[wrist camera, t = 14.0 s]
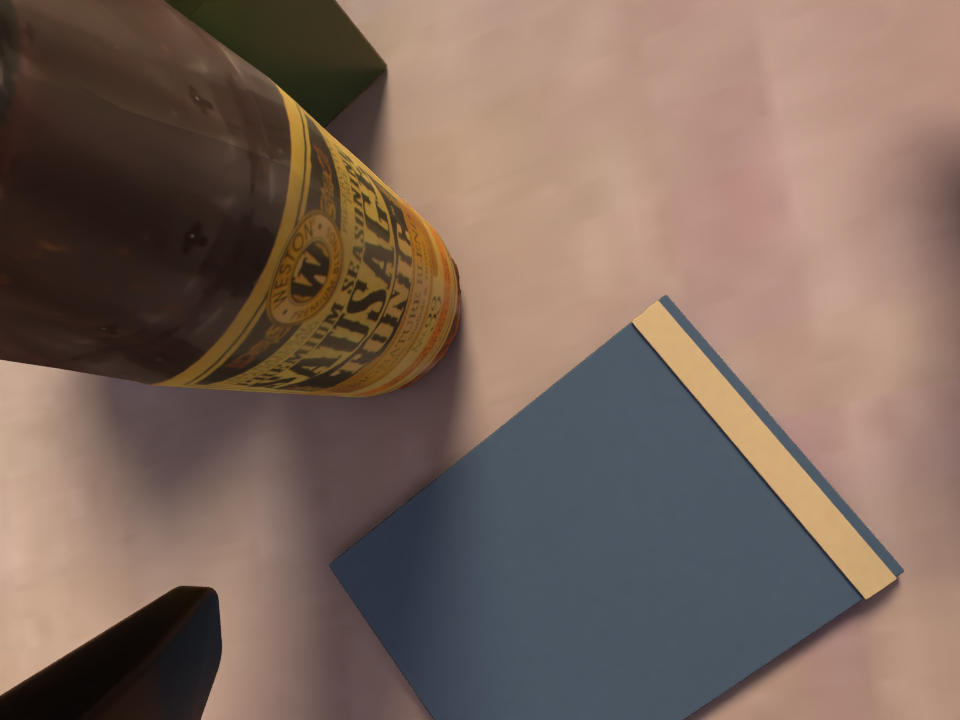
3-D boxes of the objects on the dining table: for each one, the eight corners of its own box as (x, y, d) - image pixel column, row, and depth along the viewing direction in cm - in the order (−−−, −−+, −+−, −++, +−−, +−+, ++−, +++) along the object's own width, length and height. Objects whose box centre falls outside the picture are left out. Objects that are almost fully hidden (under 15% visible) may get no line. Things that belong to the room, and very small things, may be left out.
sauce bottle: (429, 425, 22) (-1058, 698, 3) (273, 353, 24) (-1415, 198, 4) (505, 240, 22) (-587, -929, 2) (342, 178, 23) (-1154, -865, 4)
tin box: (396, 67, 23) (244, -131, 14) (186, 266, 24) (-67, 199, 16) (292, -58, 24) (91, -313, 15) (97, 140, 26) (-184, 13, 17)
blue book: (900, 567, 19) (906, 572, 18) (514, 827, 21) (511, 838, 20) (665, 295, 20) (666, 293, 20) (333, 562, 23) (326, 566, 22)
